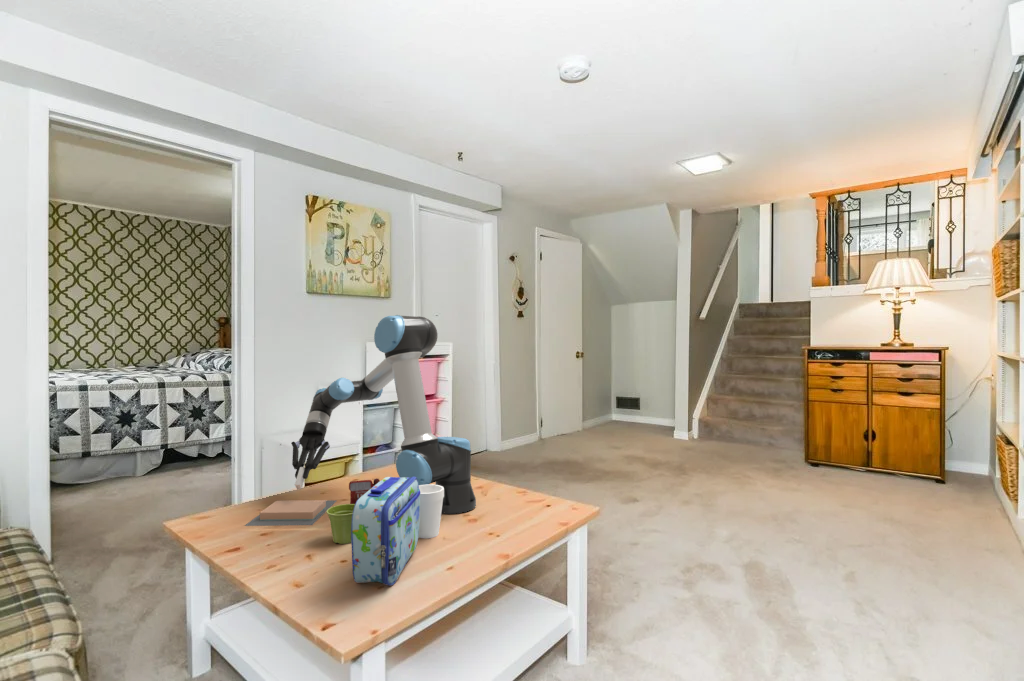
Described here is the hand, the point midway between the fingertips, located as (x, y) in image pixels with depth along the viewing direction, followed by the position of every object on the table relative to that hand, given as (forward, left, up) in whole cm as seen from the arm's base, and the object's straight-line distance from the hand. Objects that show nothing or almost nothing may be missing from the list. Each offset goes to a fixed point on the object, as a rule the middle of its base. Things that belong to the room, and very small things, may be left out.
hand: (298, 486), depth 171 cm
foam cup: (-38, -32, -8) cm, 50 cm away
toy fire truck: (-10, -21, -8) cm, 24 cm away
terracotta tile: (+2, -1, -6) cm, 6 cm away
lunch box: (-55, -17, -8) cm, 58 cm away
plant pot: (-32, -10, -8) cm, 35 cm away
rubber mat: (-2, +1, -8) cm, 8 cm away
